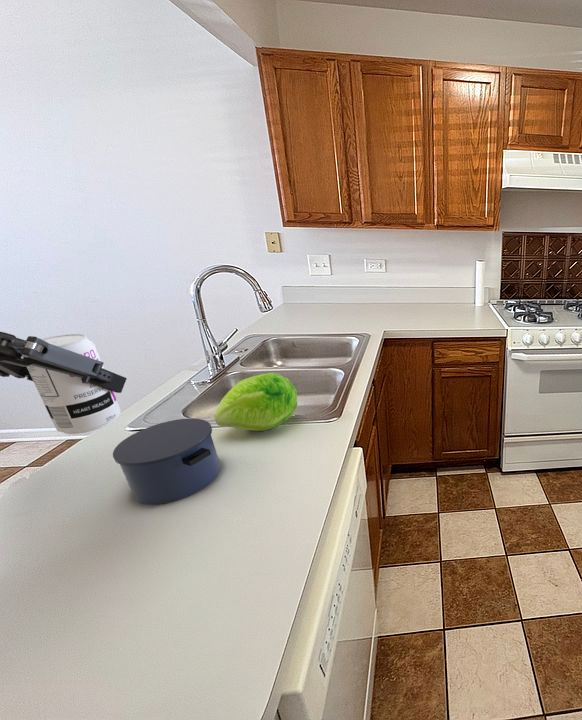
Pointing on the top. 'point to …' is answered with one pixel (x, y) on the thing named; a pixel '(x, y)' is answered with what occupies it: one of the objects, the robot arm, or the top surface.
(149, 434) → the pot
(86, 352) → the supplement can
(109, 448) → the top surface
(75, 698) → the top surface
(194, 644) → the top surface
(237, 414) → the lettuce
